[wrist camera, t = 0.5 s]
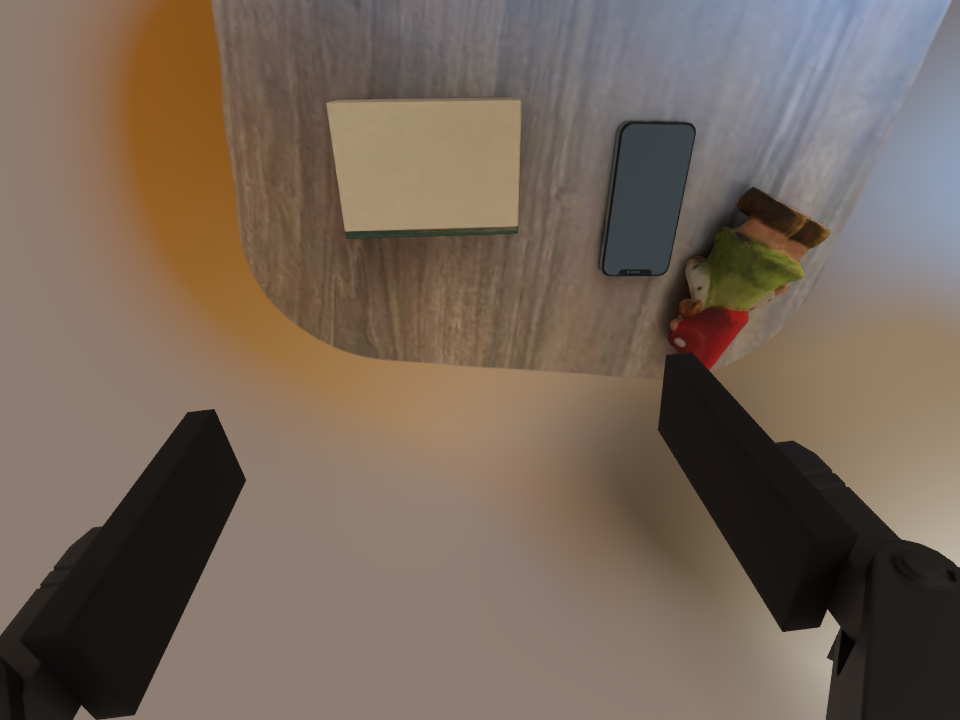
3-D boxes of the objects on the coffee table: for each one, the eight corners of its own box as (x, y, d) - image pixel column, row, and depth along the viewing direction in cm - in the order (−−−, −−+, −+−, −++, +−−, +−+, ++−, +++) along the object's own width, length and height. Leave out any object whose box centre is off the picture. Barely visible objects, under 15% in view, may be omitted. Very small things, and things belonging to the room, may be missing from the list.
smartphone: (700, 122, 47) (669, 276, 54) (692, 121, 48) (662, 271, 55) (621, 120, 46) (600, 276, 53) (615, 120, 47) (595, 272, 55)
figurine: (734, 176, 51) (630, 331, 62) (761, 192, 44) (638, 365, 54) (826, 221, 52) (708, 367, 62) (868, 245, 45) (726, 406, 55)
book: (353, 224, 50) (345, 238, 46) (336, 99, 45) (325, 102, 40) (511, 220, 51) (517, 233, 47) (513, 97, 46) (521, 99, 41)
